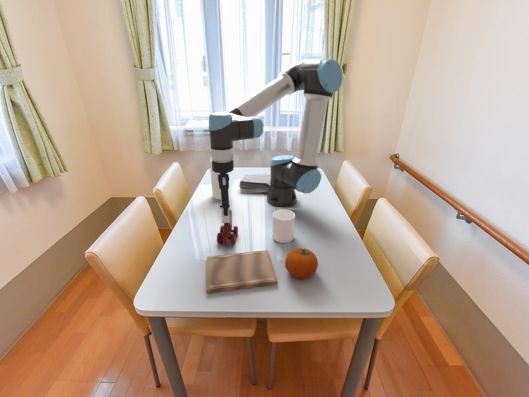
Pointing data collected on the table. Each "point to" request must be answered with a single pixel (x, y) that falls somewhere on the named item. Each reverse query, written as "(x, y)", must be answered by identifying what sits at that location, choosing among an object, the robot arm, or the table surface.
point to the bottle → (215, 183)
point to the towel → (255, 183)
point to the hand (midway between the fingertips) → (225, 213)
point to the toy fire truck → (227, 232)
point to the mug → (283, 226)
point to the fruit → (301, 263)
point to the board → (239, 271)
